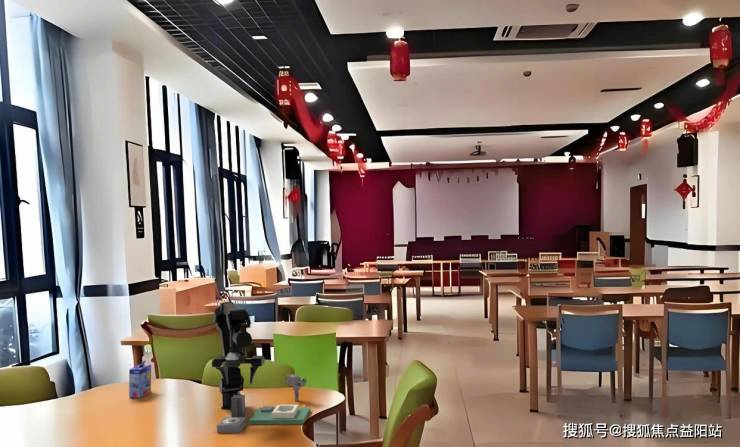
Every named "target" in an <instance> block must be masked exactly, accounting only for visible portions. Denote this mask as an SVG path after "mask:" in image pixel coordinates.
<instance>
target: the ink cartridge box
mask: <svg viewBox="0 0 740 447" xmlns="http://www.w3.org/2000/svg"><path fill="white" fill-rule="evenodd" d="M128 371H129V373H128V376H129V377H128V378H129V380H128V381H129V382H128V386H129V388H128V392H129V394H128V396H129V398H142V397H144V396H145V395H147V394H149V393H151V392H152V364H151V363H148V364H147V363H146V359H145V360H144V361H141V362H140V364H138V365H136V366H133V367H132V368H129V370H128Z"/></svg>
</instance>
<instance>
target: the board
mask: <svg viewBox="0 0 740 447" xmlns="http://www.w3.org/2000/svg"><path fill="white" fill-rule="evenodd" d="M310 413H311V407H309V406H308V407H307V406H306V407H304V406H303V407H302V406H299V404H277V405H276V407H275V406H273V405H265V406H262V407H258V408H257V410H256V411H255V412H254V413H253V414H252V416H251V417H250V418H249V419H248V425H304V424H305V422H306V420H307V418H308V417H309V415H310Z"/></svg>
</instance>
